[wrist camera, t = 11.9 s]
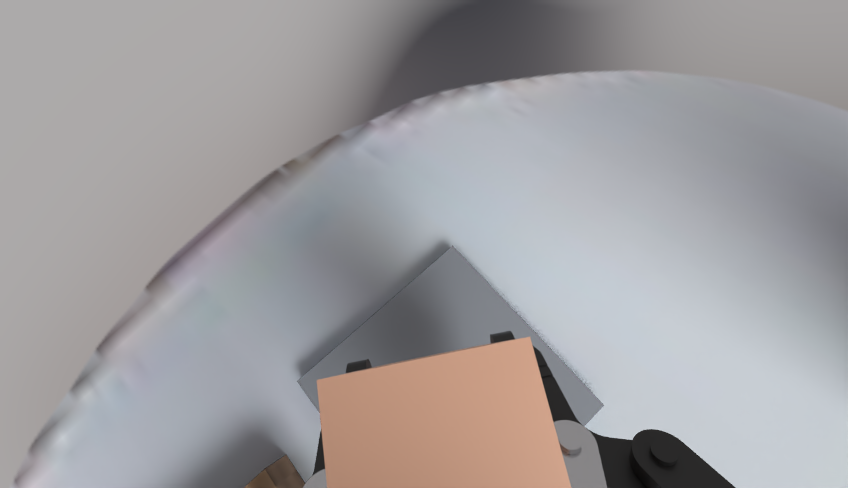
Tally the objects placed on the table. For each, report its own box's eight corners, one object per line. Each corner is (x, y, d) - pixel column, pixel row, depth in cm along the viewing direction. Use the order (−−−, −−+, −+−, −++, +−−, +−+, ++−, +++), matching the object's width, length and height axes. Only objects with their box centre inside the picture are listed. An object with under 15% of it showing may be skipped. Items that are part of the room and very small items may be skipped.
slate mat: (452, 249, 23) (452, 245, 22) (597, 403, 20) (604, 405, 19) (302, 380, 21) (296, 381, 20) (437, 569, 18) (437, 579, 17)
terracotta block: (477, 345, 18) (529, 336, 7) (500, 443, 16) (603, 603, 6) (390, 363, 18) (316, 380, 7) (406, 462, 16) (343, 658, 6)
